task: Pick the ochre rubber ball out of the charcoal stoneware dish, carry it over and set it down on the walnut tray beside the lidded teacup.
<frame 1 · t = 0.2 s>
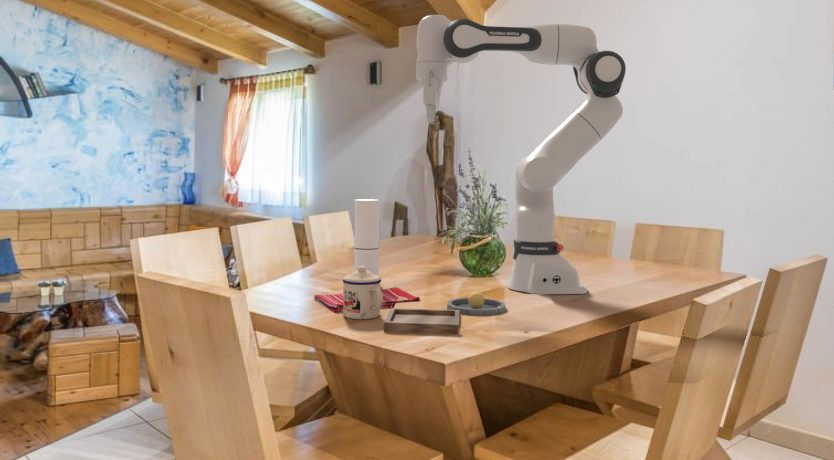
hand: (430, 122, 188), 48 cm above the table, fingers open, 8 cm apart
cylindrical container: (366, 284, 195), on the table
dish: (475, 312, 160), on the table
dish towel: (367, 305, 170), on the table
teacup with lid: (365, 317, 154), on the table
tray: (423, 324, 147), on the table
ball: (476, 308, 160), point 1 cm above the table, touching dish
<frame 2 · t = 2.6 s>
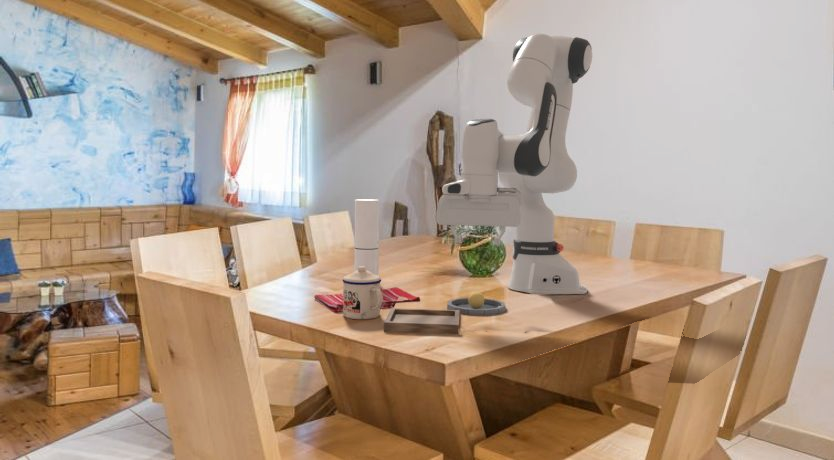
hand: (477, 244, 158), 17 cm above the table, fingers open, 8 cm apart
nothing on the table moved.
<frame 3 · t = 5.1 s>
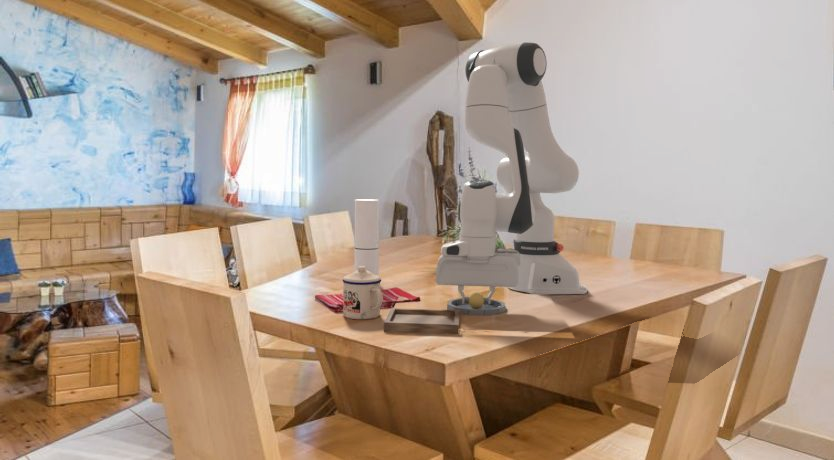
hand: (476, 303, 159), 2 cm above the table, fingers closed on ball, 4 cm apart
ball: (476, 308, 160), point 1 cm above the table, touching dish, gripper
everything else where it was.
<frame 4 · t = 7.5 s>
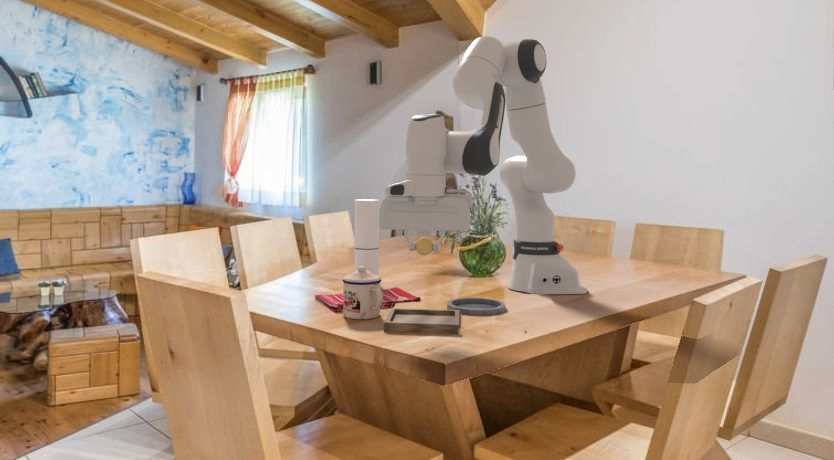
hand: (424, 250, 145), 17 cm above the table, fingers closed on ball, 4 cm apart
ball: (424, 255, 145), point 16 cm above the table, touching gripper
everything else where it was.
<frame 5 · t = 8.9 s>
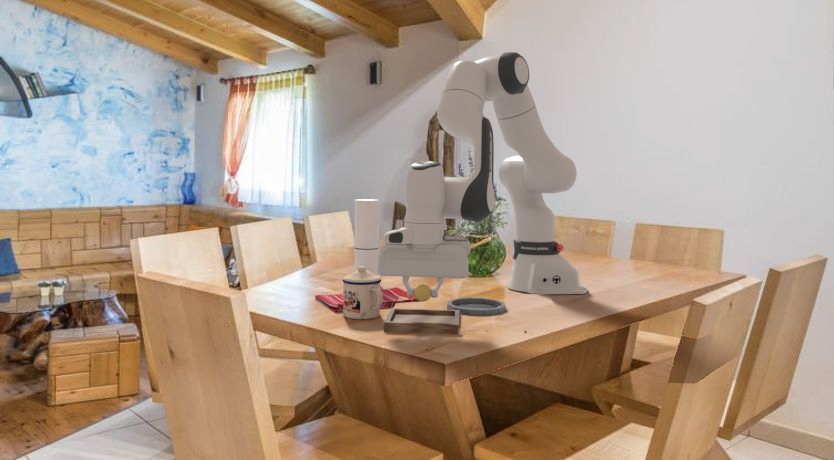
hand: (422, 296, 146), 6 cm above the table, fingers closed on ball, 4 cm apart
ball: (422, 301, 146), point 5 cm above the table, touching gripper
everything else where it was.
when the fingers open (3 cm above the table, at t = 10.2 s): ball drops 1 cm, resting on tray.
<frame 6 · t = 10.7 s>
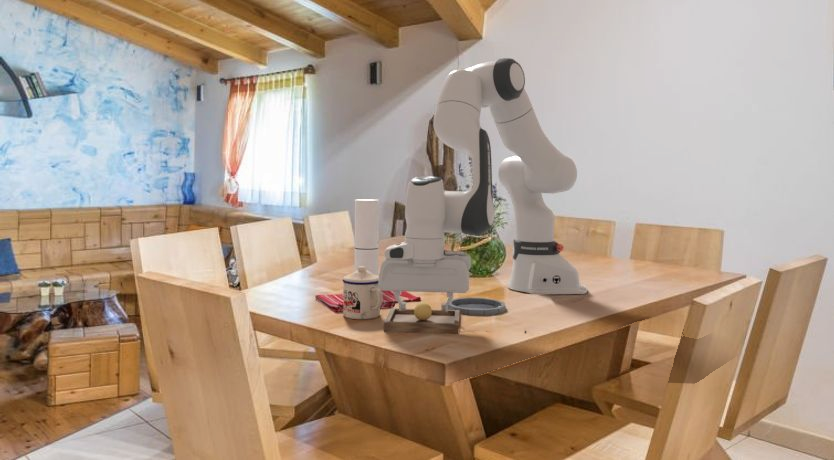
hand: (423, 311, 146), 3 cm above the table, fingers open, 8 cm apart
ball: (423, 320, 146), point 1 cm above the table, touching tray
everything else where it was.
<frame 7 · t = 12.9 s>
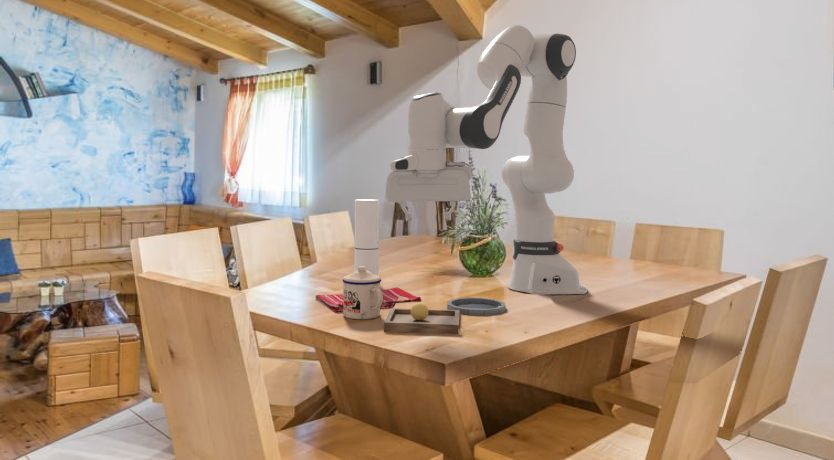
hand: (428, 220, 157), 22 cm above the table, fingers open, 8 cm apart
ball: (423, 319, 146), point 1 cm above the table, tilted 26°, touching tray
everything else where it was.
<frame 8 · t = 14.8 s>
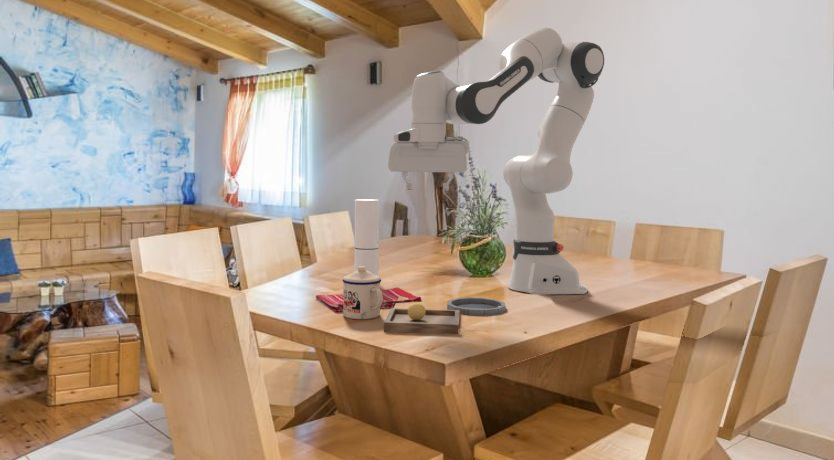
hand: (427, 190, 168), 29 cm above the table, fingers open, 8 cm apart
ball: (422, 317, 146), point 2 cm above the table, tilted 45°, touching tray
everything else where it was.
at the end: ball inside the target area on the tray (0.1 cm from its centre), point 1.6 cm above the tray's base; the gripper is holding nothing; ball touching tray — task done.
